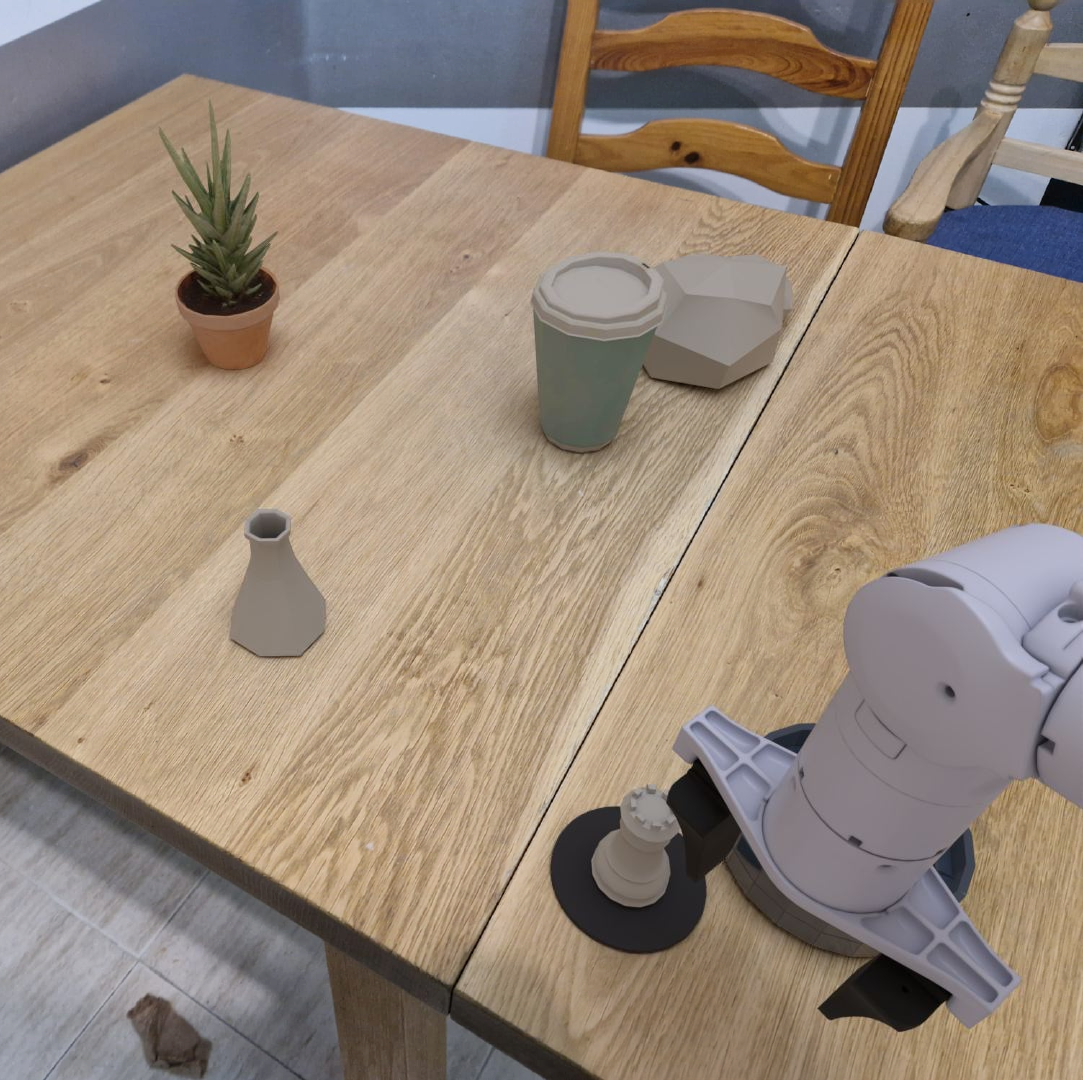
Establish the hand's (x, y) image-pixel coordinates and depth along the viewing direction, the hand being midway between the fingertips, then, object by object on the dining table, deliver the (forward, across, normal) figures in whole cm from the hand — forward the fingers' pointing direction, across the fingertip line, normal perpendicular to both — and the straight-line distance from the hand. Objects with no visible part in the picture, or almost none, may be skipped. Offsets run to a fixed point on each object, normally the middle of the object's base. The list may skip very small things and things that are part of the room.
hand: (767, 930), depth 47 cm
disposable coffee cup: (+12, +40, -29) cm, 51 cm away
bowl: (+11, +2, -13) cm, 17 cm away
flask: (+12, +37, +4) cm, 39 cm away
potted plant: (+13, +68, -11) cm, 70 cm away
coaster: (+11, +8, -2) cm, 13 cm away
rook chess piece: (+10, +8, -2) cm, 13 cm away
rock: (+13, +42, -49) cm, 65 cm away
